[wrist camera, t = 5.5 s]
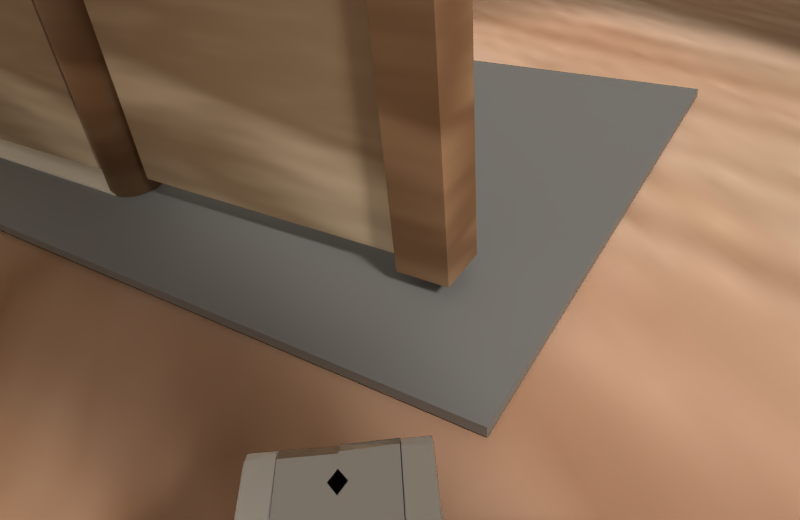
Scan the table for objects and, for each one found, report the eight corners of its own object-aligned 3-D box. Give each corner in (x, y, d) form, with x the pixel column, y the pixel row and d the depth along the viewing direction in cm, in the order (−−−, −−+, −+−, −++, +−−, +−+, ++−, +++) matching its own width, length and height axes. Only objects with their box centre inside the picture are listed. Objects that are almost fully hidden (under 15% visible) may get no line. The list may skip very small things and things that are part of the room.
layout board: (172, 26, 51) (170, 20, 51) (696, 96, 33) (698, 87, 33) (-161, 161, 36) (-167, 153, 35) (487, 437, 17) (487, 424, 17)
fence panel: (175, 169, 29) (82, -117, 23) (477, 254, 22) (470, -125, 16) (140, 190, 28) (30, -107, 21) (448, 287, 21) (427, -111, 14)
